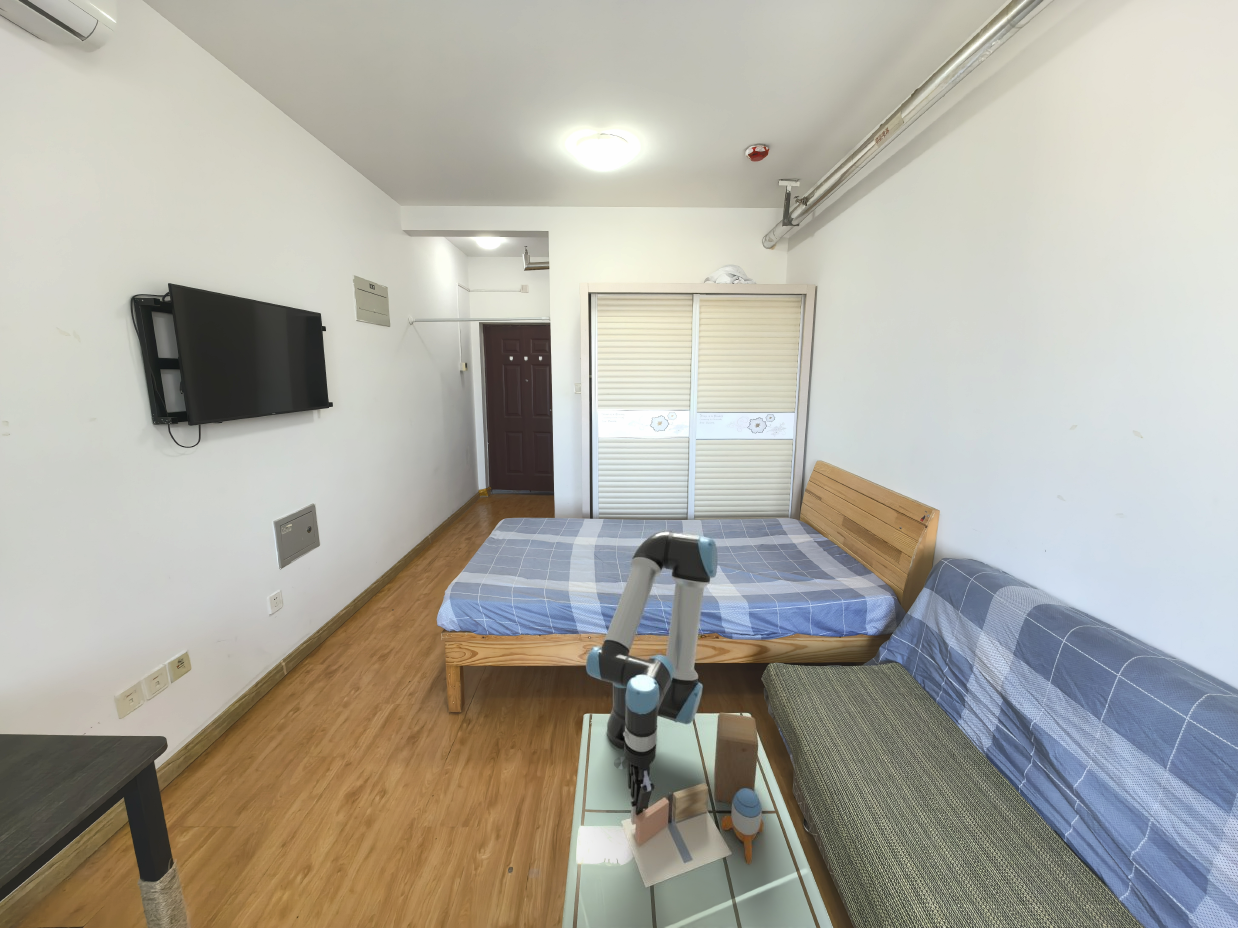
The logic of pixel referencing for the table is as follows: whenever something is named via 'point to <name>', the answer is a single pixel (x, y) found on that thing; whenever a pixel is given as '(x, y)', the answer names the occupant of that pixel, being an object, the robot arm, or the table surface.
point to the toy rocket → (745, 818)
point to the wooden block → (735, 756)
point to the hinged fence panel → (651, 821)
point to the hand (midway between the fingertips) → (636, 821)
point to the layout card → (677, 848)
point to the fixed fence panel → (687, 802)
